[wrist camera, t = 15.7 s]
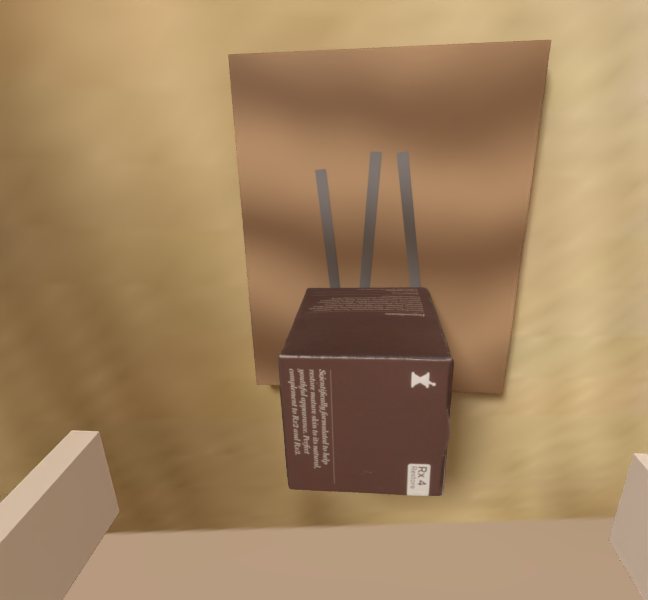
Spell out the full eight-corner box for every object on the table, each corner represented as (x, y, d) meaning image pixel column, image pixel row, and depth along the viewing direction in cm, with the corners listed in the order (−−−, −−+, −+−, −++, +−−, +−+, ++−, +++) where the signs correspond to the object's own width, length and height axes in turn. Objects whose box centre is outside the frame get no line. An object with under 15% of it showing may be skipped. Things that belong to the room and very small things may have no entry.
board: (238, 60, 20) (228, 54, 18) (537, 47, 18) (551, 39, 17) (263, 370, 25) (256, 384, 24) (495, 378, 24) (502, 393, 23)
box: (306, 283, 22) (274, 352, 15) (430, 284, 21) (457, 356, 14) (310, 389, 24) (285, 492, 17) (423, 393, 23) (444, 502, 16)
